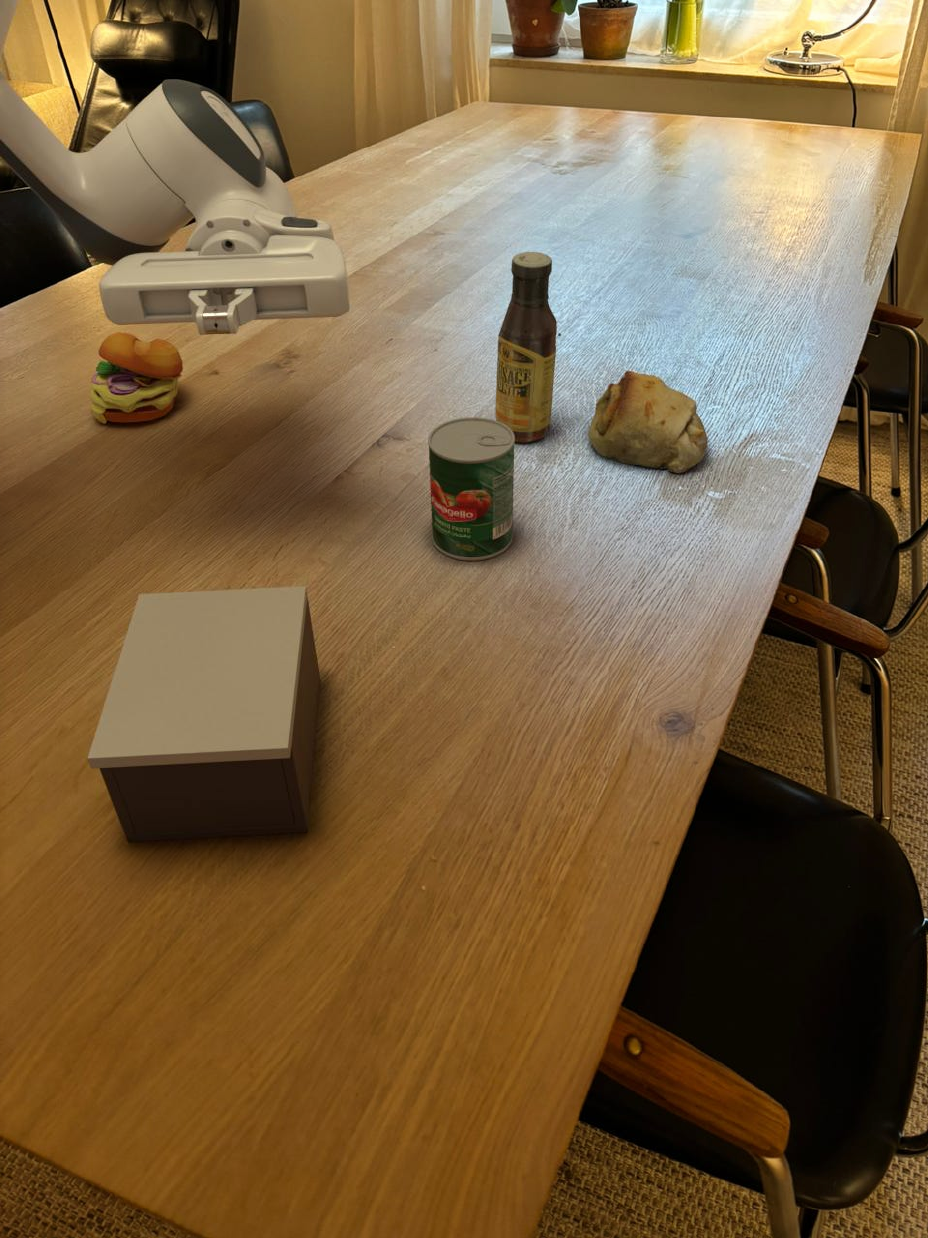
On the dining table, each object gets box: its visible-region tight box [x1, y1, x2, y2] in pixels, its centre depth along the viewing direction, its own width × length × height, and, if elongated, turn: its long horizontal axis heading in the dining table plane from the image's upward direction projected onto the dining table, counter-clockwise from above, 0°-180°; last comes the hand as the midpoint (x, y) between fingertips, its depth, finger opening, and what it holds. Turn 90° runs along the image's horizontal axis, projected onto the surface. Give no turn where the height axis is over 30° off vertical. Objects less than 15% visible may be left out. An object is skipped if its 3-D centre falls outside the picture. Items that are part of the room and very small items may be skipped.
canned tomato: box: [427, 416, 516, 562], centre depth 93 cm, size 8×8×11 cm
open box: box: [98, 596, 321, 843], centre depth 73 cm, size 16×13×9 cm
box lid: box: [86, 585, 308, 769], centre depth 69 cm, size 17×13×1 cm
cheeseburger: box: [89, 331, 184, 425], centre depth 116 cm, size 10×11×10 cm
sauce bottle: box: [494, 251, 558, 444], centre depth 106 cm, size 6×6×20 cm
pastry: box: [588, 370, 709, 474], centre depth 107 cm, size 14×12×8 cm
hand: (216, 325), depth 77 cm, fingers closed
